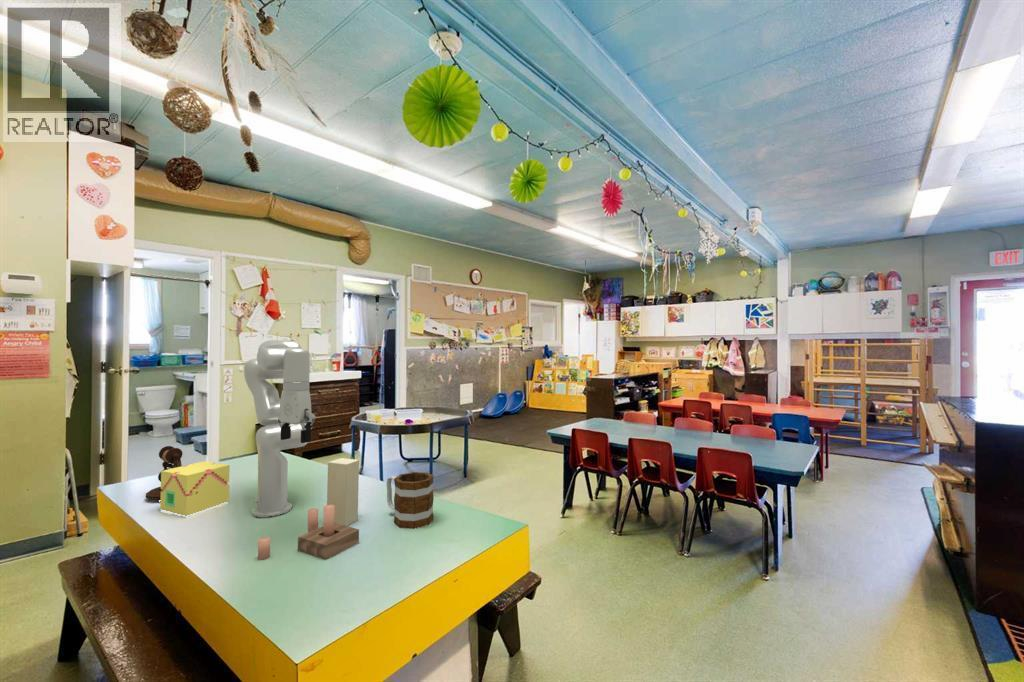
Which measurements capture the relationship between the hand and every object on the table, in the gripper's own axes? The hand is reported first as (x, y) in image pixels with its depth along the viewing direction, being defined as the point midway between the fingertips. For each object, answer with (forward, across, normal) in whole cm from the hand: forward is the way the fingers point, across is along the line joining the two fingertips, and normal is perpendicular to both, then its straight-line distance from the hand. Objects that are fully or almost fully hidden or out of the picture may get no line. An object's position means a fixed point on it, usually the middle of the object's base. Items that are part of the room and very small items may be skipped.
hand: (295, 440), depth 135 cm
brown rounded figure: (+31, -78, +1) cm, 84 cm away
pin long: (+30, +16, 0) cm, 34 cm away
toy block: (+31, -55, -1) cm, 63 cm away
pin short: (+30, +5, -13) cm, 33 cm away
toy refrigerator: (+30, +5, +15) cm, 34 cm away
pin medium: (+30, +5, +3) cm, 31 cm away
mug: (+30, +23, +27) cm, 47 cm away
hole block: (+30, +16, 0) cm, 34 cm away
